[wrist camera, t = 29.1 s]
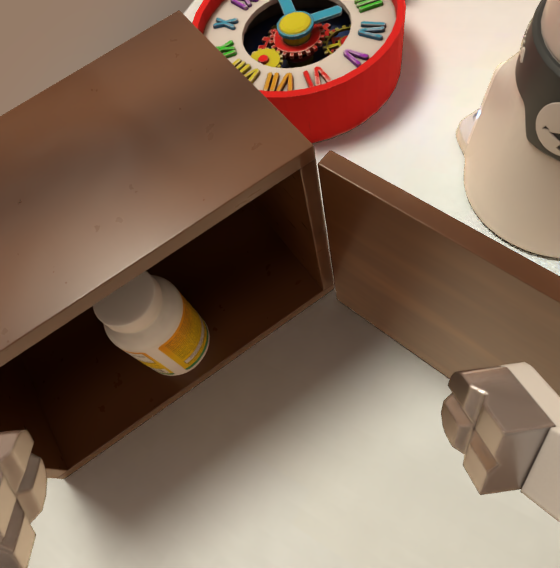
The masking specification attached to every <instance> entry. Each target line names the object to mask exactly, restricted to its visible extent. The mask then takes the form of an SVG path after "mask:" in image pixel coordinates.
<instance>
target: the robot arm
mask: <svg viewBox="0 0 560 568" xmlns="http://www.w3.org/2000/svg"><path fill="white" fill-rule="evenodd" d="M456 138H457V141H458V143H459V146H460V148H461V150H462V152H463V154H464V158H465V166H464V186H465V191H466V195H467V198H468V200H469V202H470V204H471V206H472V208H473V210H474V211H475V213H476V214H477V216H478V217H479V218H480V219H481V221H482V222H483V223H484V224H485V225H486V226H487V227H488V228H489V229H491V230H492V231H493V232H494V233H495V234H497V235H498V236H500V237H501V238H503V239H504V240H506V241H507V242H509V243H511V244H513V245H515V246H517V247H519V248H522V249H524V250H527V251H529V252H533V253H536V254H540V255H543V256H549V257H555V258H560V0H541V2H540V3H539V5H538V7H537V9H536V11H535V13H534V16H533V18H532V19H531V21H530V22H529V24H528V27H527V29H526V31H525V34H524V37H523V40H522V43H521V48H520V51H519V52H517V53H516V54H515V55H514V56H512V57H511V58H510V59H508V60H507V61H506V62H502V63H500V64H499V65H498V66H497V68H496V69H495V71H494V73H493V76H492V78H491V81H490V83H489V86H488V88H487V91H486V93H485V96H484V99H483V101H482V104H481V106H480V108H479V109H477V110H476V111H474V112H473V113H471V114H470V115H468V116H467V117H465V118H464V119H462V120H461V122H460V123H459V125H458V128H457V130H456ZM448 387H449V388H450V390H451V391H452V393H451V394H450V395H449V396H448V397H447V398H446V399H445V400H444V401H443V406H442V410H441V417H442V425H443V428H444V431H445V434H446V436H447V438H448V440H449V442H450V444H451V445H452V447H454V448H455V449H457V450H458V451H460V452H461V453H463V454H464V461H463V466H464V468H465V470H466V472H467V473H468V475H469V477H470V478H471V480H472V482H473V484H474V485H475V487H476V489H477V491H478V492H479V494H480V495H484V494H491V493H498V492H505V491H511V490H518V489H521V492H522V493H523V494H524V495H526V496H527V497H528V498H529V499H531V500H532V501H533V502H535V503H536V504H537V505H538V506H540V507H541V508H542V509H543V510H545V511H546V512H547V513H548V514H550V515H551V516H552V517H554V518H555V519H556V520H557V521H559V522H560V397H559V396H558V394H557V393H556V392H555V391H554V390H553V389H552V388H551V387H550V386H549V384H548V383H547V382H546V381H545V380H544V379H543V378H542V377H541V376H540V374H539V373H538V372H537V371H536V370H535V369H534V368H533V367H532V366H531V365H529V364H527V363H526V362H521V363H514V364H506V365H501V366H491V367H484V368H477V369H470V370H463V371H456V372H454V373H453V374H452V375H451V376H450V380H449V383H448ZM33 444H34V441H33V439H32V437H31V435H30V433H29V431H28V430H15V431H6V432H0V568H28V564H29V560H30V556H31V552H32V549H33V545H34V541H35V537H36V534H35V532H34V530H33V528H32V526H31V522H32V521H33V520H34V519H35V518H36V517H37V516H38V515H39V514H40V513H41V512H42V510H43V506H44V502H45V498H46V489H47V475H46V470H45V466H44V463H43V461H42V459H41V457H39V456H37V455H35V454H33V453H31V450H32V447H33Z"/></svg>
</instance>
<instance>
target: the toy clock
mask: <svg viewBox="0 0 560 568" xmlns="http://www.w3.org/2000/svg"><path fill="white" fill-rule="evenodd" d="M405 10H406V4H405V0H203V2H202V4H201V5H200V7H199V9H198V10H197V12H196V14H195V17H194V20H193V22H192V24H193V25H194V26H195V27H196V28H197V29H198V30H199V31H200V32H201V33H202V34H203V35H204V36H205V37H206V38H207V39H208V40H209V41H210V42H211V43H212V44H213V45H214V46H215V47H216V48H217V49H218V50H219V51H220V52H221V53H222V54H223V55H224V56H225V57H226V58H227V59H228V60H229V61H230V62H231V63H232V64H233V65H234V66H235V67H236V68H237V69H238V70H239V71H240V72H241V73H242V74H243V75H244V76H245V77H246V78H247V79H248V80H249V81H250V82H251V83H252V84H253V85H254V86H255V87H256V88H257V89H258V90H259V91H260V92H261V93H262V94H263V95H264V96H265V97H266V98H267V99H268V100H269V101H270V102H271V103H272V104H273V105H274V106H275V107H276V108H277V109H278V110H279V111H280V112H281V113H282V114H283V115H284V116H285V117H286V118H287V119H288V120H289V121H290V122H291V123H292V124H293V125H294V126H295V127H296V128H297V129H298V130H299V131H300V132H301V133H302V134H303V135H304V136H305V137H306V138H307V139H308V140H309V141H310V142H311V143H315V142H319V141H323V140H327V139H331V138H333V137H336V136H338V135H341V134H343V133H346V132H348V131H350V130H352V129H353V128H355V127H357V126H359V125H360V124H362V123H364V122H365V121H366V120H368V119H369V118H370V117H371V116H373V115H374V114H375V113H376V112H377V111H378V110H379V109H380V108H381V107H382V106H383V105H384V104H385V103H386V101H387V100H388V99H389V97H390V96H391V94H392V92H393V91H394V89H395V87H396V85H397V82H398V79H399V76H400V70H401V60H402V48H403V35H404V22H405Z"/></svg>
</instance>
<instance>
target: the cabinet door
mask: <svg viewBox="0 0 560 568" xmlns="http://www.w3.org/2000/svg"><path fill="white" fill-rule="evenodd" d="M318 169H319V176H320V183H321V191H322V198H323V205H324V212H325V219H326V226H327V233H328V240H329V247H330V254H331V262H332V269H333V276H334V283H335V290H336V297H337V300H338V301H340V302H341V303H343V304H344V305H346V306H347V307H348V308H350V309H351V310H353V311H354V312H355V313H357V314H358V315H360V316H361V317H363V318H364V319H365V320H367V321H368V322H370V323H371V324H373V325H374V326H375V327H377V328H378V329H380V330H381V331H383V332H384V333H385V334H387V335H388V336H390V337H391V338H393V339H394V340H395V341H397V342H398V343H400V344H401V345H403V346H404V347H405V348H407V349H408V350H410V351H411V352H413V353H414V354H415V355H417V356H418V357H420V358H421V359H422V360H424V361H425V362H427V363H428V364H430V365H431V366H432V367H434V368H435V369H437V370H438V371H440V372H441V373H442V374H444V375H445V376H447V377H448V378H450V376H451V375H452V374H453V373H454V372H456V371H463V370H470V369H477V368H484V367H491V366H501V365H506V364H514V363H521V362H526V363H527V364H529V365H531V366H532V367H533V368H534V369H535V370H536V371H537V372H538V373H539V374H540V376H541V377H542V378H543V379H544V380H545V381H546V382H547V383H548V384H549V386H550V387H551V388H552V389H553V390H554V391H555V392H556V393H557V394H558V396H559V397H560V276H558V275H556V274H554V273H553V272H551V271H549V270H547V269H545V268H544V267H542V266H540V265H538V264H536V263H534V262H533V261H531V260H529V259H527V258H525V257H524V256H522V255H520V254H518V253H516V252H515V251H513V250H511V249H509V248H507V247H505V246H504V245H502V244H500V243H498V242H496V241H495V240H493V239H491V238H489V237H487V236H485V235H484V234H482V233H480V232H478V231H476V230H475V229H473V228H471V227H469V226H467V225H465V224H464V223H462V222H460V221H458V220H456V219H455V218H453V217H451V216H449V215H447V214H445V213H444V212H442V211H440V210H438V209H436V208H435V207H433V206H431V205H429V204H427V203H425V202H424V201H422V200H420V199H418V198H416V197H415V196H413V195H411V194H409V193H407V192H405V191H404V190H402V189H400V188H398V187H396V186H395V185H393V184H391V183H389V182H387V181H386V180H384V179H382V178H380V177H378V176H376V175H375V174H373V173H371V172H369V171H367V170H366V169H364V168H362V167H360V166H358V165H356V164H355V163H353V162H351V161H349V160H347V159H346V158H344V157H342V156H340V155H338V154H336V153H335V152H333V151H329V152H328V153H327V154H326V155H325V156H324V158H323V159H322V160H321V161H320V162H319V163H318Z"/></svg>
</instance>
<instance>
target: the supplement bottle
mask: <svg viewBox="0 0 560 568" xmlns="http://www.w3.org/2000/svg"><path fill="white" fill-rule="evenodd" d="M93 310H94V313H95V315H96V316H97V318H98V319H99V320H100V321H101V322H102V323H103V324H104V329H105V331H106V334H107V336H108V337H109V339H110V340H111V341H112V342H113V343H114V344H115V345H116V346H117V347H119V348H120V349H122V350H123V351H125V352H126V353H128V354H129V355H131V356H133V357H134V358H136V359H137V360H139V361H140V362H142V363H143V364H145V365H147V366H148V367H150V368H151V369H153V370H155V371H156V372H158V373H161V374H163V375H168V376H176V375H181V374H184V373H187V372H188V371H190V370H192V369H194V368H195V367H196V366H197V365H198V364H199V363H200V362H201V360H202V359H203V357H204V356H205V354H206V352H207V350H208V346H209V340H210V335H209V330H208V327H207V325H206V323H205V321H204V320H203V319H202V317H201V316H200V315H199V314H198V313H197V311H196V310H195V309H194V308H193V307H192V306H191V304H190V303H189V302H188V301H187V300H186V299H185V298H184V296H183V295H182V294H181V293H180V292H179V291H178V290H177V288H176V287H175V286H174V285H173V284H172V283H171V282H169V281H168V280H166V279H164V278H162V277H159V276H155V275H150V274H149V273H148V272H147V271H145V272H143V273H142V274H140V275H139V276H137V277H136V278H134V279H132V280H131V281H129V282H128V283H126V284H125V285H123V286H122V287H120V288H119V289H117V290H116V291H114V292H113V293H111V294H110V295H108V296H107V297H105V298H104V299H102V300H101V301H99V302H98V303H96V304H95V305H93Z"/></svg>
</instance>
